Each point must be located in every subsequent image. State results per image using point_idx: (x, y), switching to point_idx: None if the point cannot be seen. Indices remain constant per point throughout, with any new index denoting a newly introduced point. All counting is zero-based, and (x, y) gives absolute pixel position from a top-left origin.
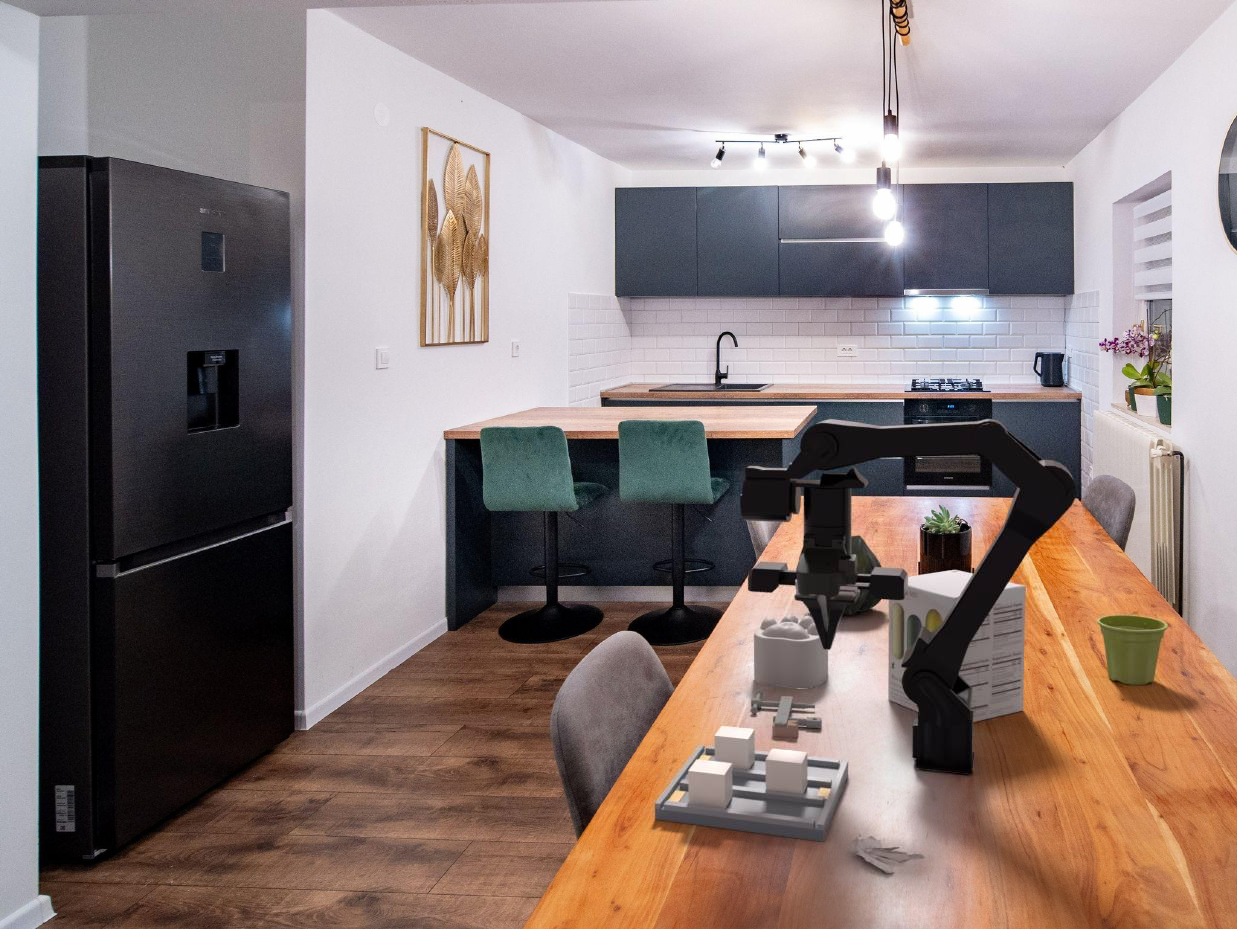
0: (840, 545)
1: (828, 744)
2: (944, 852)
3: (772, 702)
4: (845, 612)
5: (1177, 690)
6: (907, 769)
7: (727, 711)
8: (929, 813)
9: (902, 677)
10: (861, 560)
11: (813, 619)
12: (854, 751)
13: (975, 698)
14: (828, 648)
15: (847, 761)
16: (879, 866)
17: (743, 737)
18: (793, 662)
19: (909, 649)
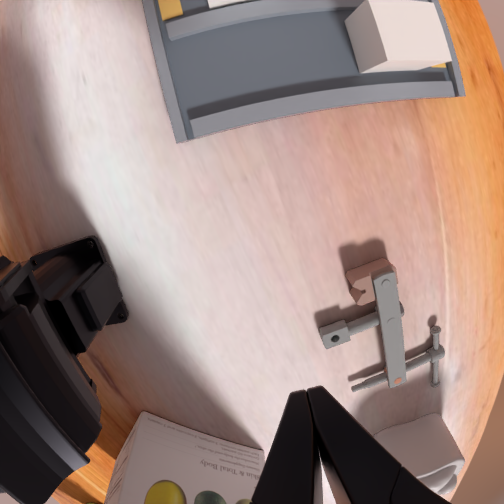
0: None
1: (280, 270)
2: (2, 10)
3: (415, 365)
4: None
5: (67, 495)
6: (108, 230)
7: (466, 314)
8: (28, 87)
9: (12, 316)
10: None
11: (424, 486)
12: (222, 262)
13: (124, 452)
14: (297, 392)
15: (175, 136)
16: None
17: (381, 4)
18: (405, 452)
19: (65, 456)
